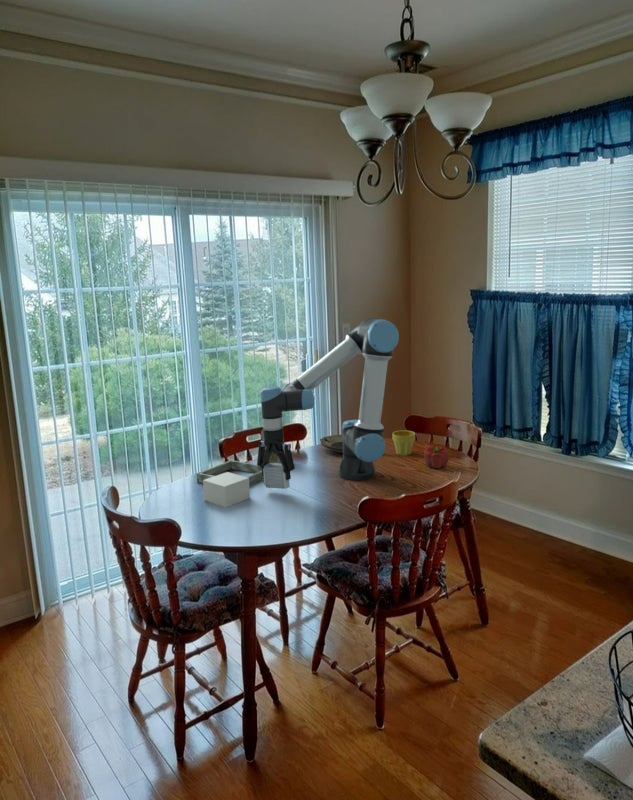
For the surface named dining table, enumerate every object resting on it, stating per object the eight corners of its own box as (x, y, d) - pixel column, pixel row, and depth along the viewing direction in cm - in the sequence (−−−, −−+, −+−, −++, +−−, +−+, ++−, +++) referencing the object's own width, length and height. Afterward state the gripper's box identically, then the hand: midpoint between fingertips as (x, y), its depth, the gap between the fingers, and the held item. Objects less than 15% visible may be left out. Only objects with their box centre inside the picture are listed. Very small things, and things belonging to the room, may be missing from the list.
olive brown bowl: (344, 441, 302) (343, 426, 301) (388, 453, 280) (388, 437, 278) (310, 450, 288) (309, 435, 286) (354, 463, 265) (353, 446, 264)
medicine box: (289, 485, 230) (287, 463, 229) (284, 489, 226) (283, 467, 224) (269, 484, 233) (268, 462, 231) (265, 488, 229) (263, 466, 227)
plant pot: (409, 457, 271) (409, 436, 269) (388, 454, 277) (388, 434, 275) (418, 452, 280) (418, 431, 278) (398, 449, 285) (398, 429, 284)
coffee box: (285, 461, 271) (283, 426, 268) (282, 466, 265) (281, 430, 261) (265, 461, 272) (263, 426, 269) (262, 466, 265) (260, 430, 262)
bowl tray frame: (272, 475, 252) (272, 467, 252) (239, 490, 235) (239, 482, 234) (231, 467, 264) (231, 460, 264) (197, 481, 247) (196, 473, 246)
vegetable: (449, 471, 250) (449, 448, 248) (424, 471, 252) (424, 448, 250) (448, 464, 261) (448, 441, 259) (423, 463, 263) (423, 441, 261)
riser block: (250, 498, 227) (248, 477, 225) (225, 507, 218) (224, 486, 216) (228, 491, 234) (227, 472, 233) (204, 500, 226) (203, 480, 224)
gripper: (302, 428, 222) (305, 486, 227) (256, 423, 234) (260, 479, 238) (290, 433, 216) (294, 493, 220) (244, 427, 228) (248, 485, 232)
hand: (276, 485), depth 229 cm, fingers closed on medicine box, 8 cm apart
